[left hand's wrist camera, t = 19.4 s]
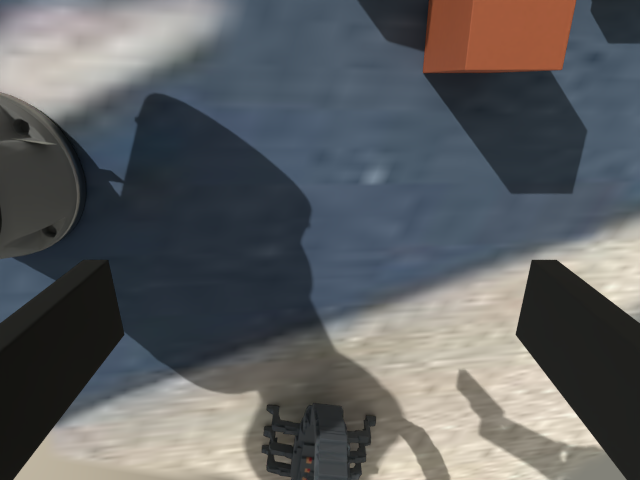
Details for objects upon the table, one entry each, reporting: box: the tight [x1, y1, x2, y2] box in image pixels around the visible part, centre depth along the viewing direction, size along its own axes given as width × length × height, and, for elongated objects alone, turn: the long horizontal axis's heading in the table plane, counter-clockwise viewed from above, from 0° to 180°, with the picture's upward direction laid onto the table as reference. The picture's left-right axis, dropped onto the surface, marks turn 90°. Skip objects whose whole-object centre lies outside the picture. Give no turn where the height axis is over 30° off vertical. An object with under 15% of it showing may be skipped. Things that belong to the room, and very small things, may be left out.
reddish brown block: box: [423, 0, 576, 73], centre depth 29 cm, size 6×6×11 cm
